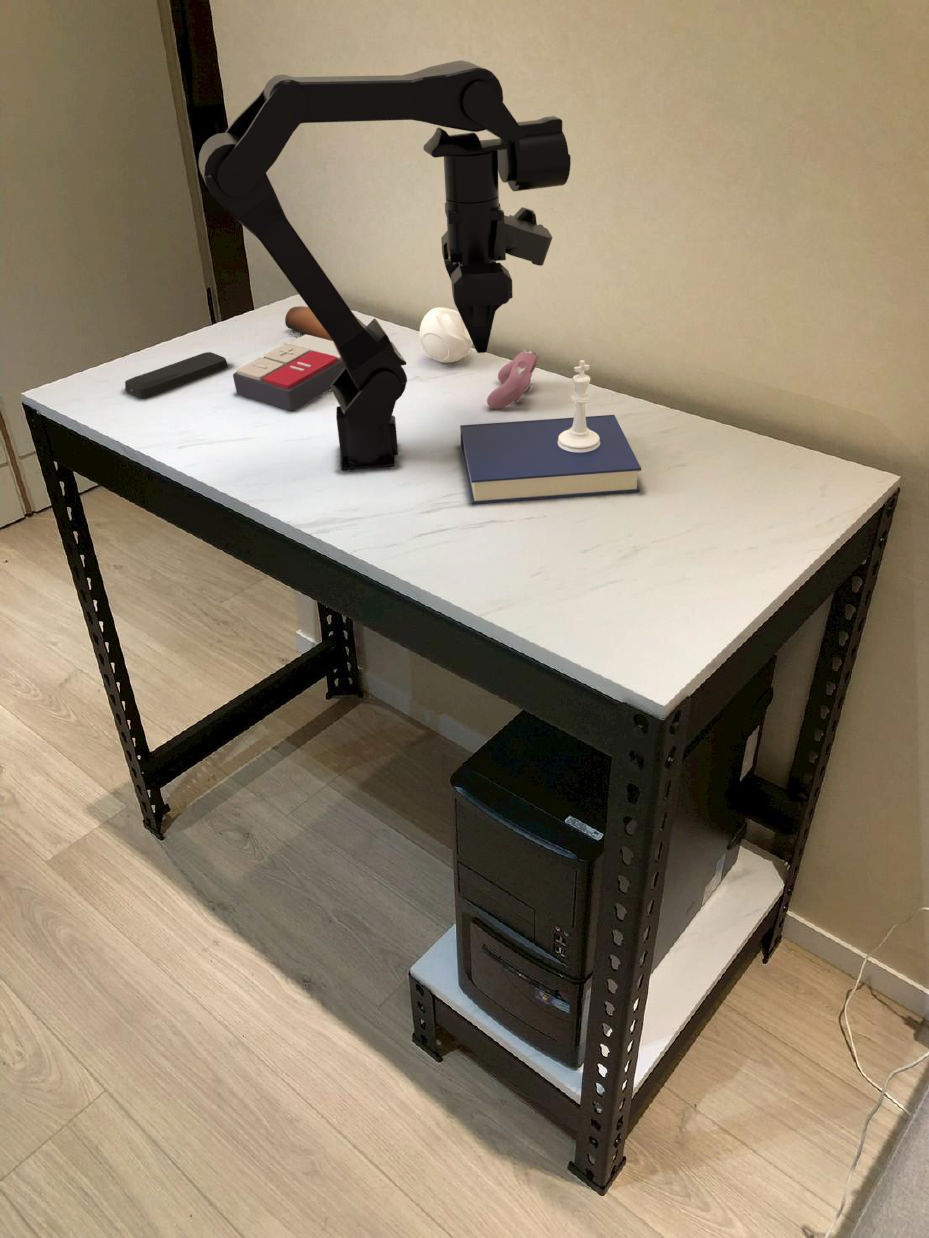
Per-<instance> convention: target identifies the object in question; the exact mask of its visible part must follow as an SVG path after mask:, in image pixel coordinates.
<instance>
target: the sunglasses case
mask: <svg viewBox="0 0 929 1238" xmlns="http://www.w3.org/2000/svg"><path fill="white" fill-rule="evenodd" d="M284 324H285V326H286V327H287V328H288V329H289V330H291V331H294V332H297V333H301V334H302V335H311V336H315V337H318V338H322V339H326V340H330V341H333V340H332V339H331V337H330V336H329V334H328V333H327V332H326V330H325V329H324V328H323V326H322V325H321V324H320V322H319V321H318V319H317V318H316V317H315V315H314V314H313V313H312V311H311V310H310V308H309V307H308V306H307V305H305V306H304V305H303V306H302V305H299V306H292V307H291V308H289V309H288V310H287V313H286V315H285V318H284Z"/></svg>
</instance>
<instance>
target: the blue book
mask: <svg viewBox="0 0 929 1238" xmlns="http://www.w3.org/2000/svg"><path fill="white" fill-rule="evenodd" d="M573 420H574V417H564V418H563V417H562V418H548V419H533V420H518V421H517V420H516V421H504V422H489V423H476V424H461V425H459V431H460V432H459V433H460V450H461V455H462V460H463V465H464V469H465V470H464V471H465V475H466V480H467V485H468V490H469V495H470V500H471V504H472V505H480V504H494V503H508V502H521V501H533V500H546V499H547V500H548V499H560V498H572V497H573V498H575V497H587V496H602V495H615V494H627V493H628V494H630V493H639V492H640V488H639V485H638V476H639V472H641V471H642V466H641V465H640V463H639V460H638V459H637V457H636V455H635V453H634V451H633V449H632V447H631V444H630V443H629V441H628V439H627V437H626V435H625V433H624V430H623V429H622V427H621V425H620V423H619V420H618V419H617V417H616V414H605V415H591V416H588V415H587V416H586V426H587V428H588V429H589V430H591V431H594V432H595V433H597V434H598V435H599V438H600V440H599V441H600V445H599V447H598V448H597V449H595V450H593V451H590V452H584V453H575V452H569V451H566V450H564V449H562V448H560V447H559V445H558V437H559V435H560V434H561V433H562V432H564V431H566V430H569V429H570V428H571V427H572V426H573Z"/></svg>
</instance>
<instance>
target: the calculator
mask: <svg viewBox="0 0 929 1238" xmlns="http://www.w3.org/2000/svg"><path fill="white" fill-rule="evenodd" d="M344 367H345V366H344V364H343V362H342V360H341V358H340V355H339V353H338V351H337V349H336V347H335V345H334V342H333V341H330V340H326V339H322V338H318V337H315V336H311V335H306V334H302V335H301V336H300V337H297V338H295V339H294V340H292V341H290V342H289V343H284V344H282V345H280V346H278V347H276V348H274V349H273V350H271V351H269V352H267V353H265V354H263V357H257V358H255V359H254V360H252V361H250V362H248V363H246V364H244V365H242V366H241V367H239V368H237V369H236V372H234V373H232V377H233V383H234V387H235V391H236V394H237V395H240V396H243V397H245V398H248V399H252V400H255V401H258V402H262V403H264V404H268V405H271V406H274V407H277V408H280V409H283V410H287V411H289V412H294V411H296V410H297V409H299V408H302V407H303V406H305V405H306V404H308V403H310V402H311V401H313V400H315V399H316V398H318V397H320V396H321V395H323V394H325V393H327V392H329V390H332V389H331V388H330V385H331V383H332V382H333V381H334V380H335V378H336V377H337V376H338V375H339V374H340V372H341V371H342V370H343V369H344Z"/></svg>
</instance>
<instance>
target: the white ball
mask: <svg viewBox="0 0 929 1238" xmlns="http://www.w3.org/2000/svg"><path fill="white" fill-rule="evenodd" d="M418 334H419V341H420V345H421V347H422V350H423V351H424V353H425V354H426V355H427V356H428V357H429V358H431V359H432V360H434V361H436V362H439V363H445V364H448V363H456V362H458V361H460V360H461V359H463V358H465V357H466V356H467V355H468V354H469V353H470V350H471V348H472V347H473V346H474V345H473V342H472V340H471V338H470V336H469V333H468V331H467V329H466V327H465V325H464V322H463V320H462V318H461V316H460V314H459V311H458V310H455V309H451V308H448V307H447V308H446V307H434V308H431V309H430V310H429V311H428V312H426V314H425V315H424V317H423V318H422V320H421V322H420V325H419V333H418Z"/></svg>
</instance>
